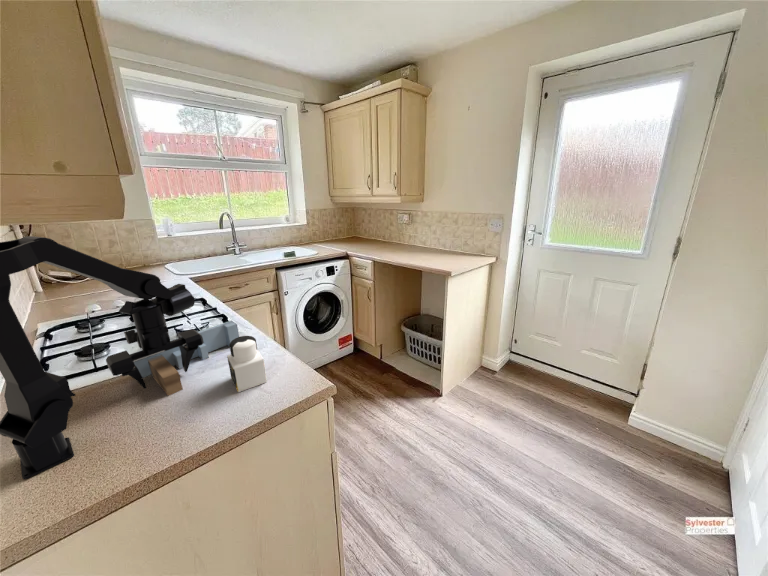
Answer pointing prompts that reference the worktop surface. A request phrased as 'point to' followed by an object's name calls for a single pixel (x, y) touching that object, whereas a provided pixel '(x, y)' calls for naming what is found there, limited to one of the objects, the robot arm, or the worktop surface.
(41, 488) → the worktop surface
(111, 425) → the worktop surface
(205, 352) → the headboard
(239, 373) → the medicine bottle
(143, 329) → the robot arm
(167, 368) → the brown wooden block
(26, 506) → the worktop surface
